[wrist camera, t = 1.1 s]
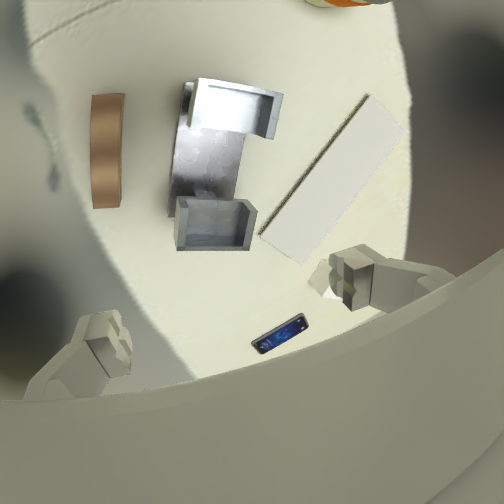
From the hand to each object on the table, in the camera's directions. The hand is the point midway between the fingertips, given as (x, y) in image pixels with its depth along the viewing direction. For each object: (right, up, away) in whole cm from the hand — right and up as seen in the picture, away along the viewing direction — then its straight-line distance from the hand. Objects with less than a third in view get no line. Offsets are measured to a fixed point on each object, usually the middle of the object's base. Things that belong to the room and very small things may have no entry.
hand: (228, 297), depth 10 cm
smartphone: (+8, -19, +59) cm, 63 cm away
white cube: (+17, -3, +52) cm, 55 cm away
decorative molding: (+16, +16, +40) cm, 46 cm away
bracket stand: (-6, +17, +30) cm, 35 cm away
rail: (-20, +17, +24) cm, 36 cm away
